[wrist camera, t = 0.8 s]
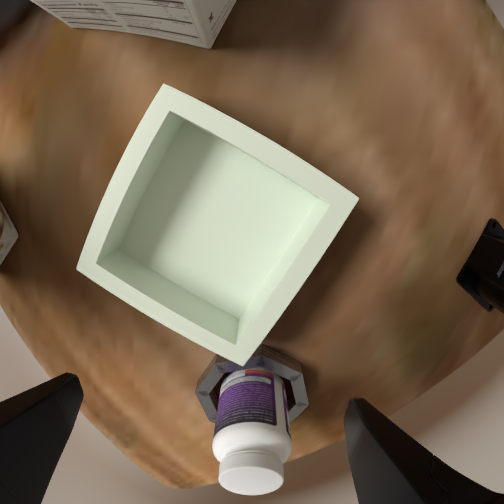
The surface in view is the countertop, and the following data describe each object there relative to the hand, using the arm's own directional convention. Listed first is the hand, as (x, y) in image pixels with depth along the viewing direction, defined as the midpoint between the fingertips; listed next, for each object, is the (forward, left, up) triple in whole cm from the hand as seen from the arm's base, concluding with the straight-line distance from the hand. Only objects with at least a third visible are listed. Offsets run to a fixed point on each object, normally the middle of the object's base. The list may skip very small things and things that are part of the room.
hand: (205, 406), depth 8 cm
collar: (-7, +8, -13) cm, 17 cm away
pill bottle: (-7, +8, -13) cm, 17 cm away
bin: (+3, -2, -13) cm, 14 cm away
